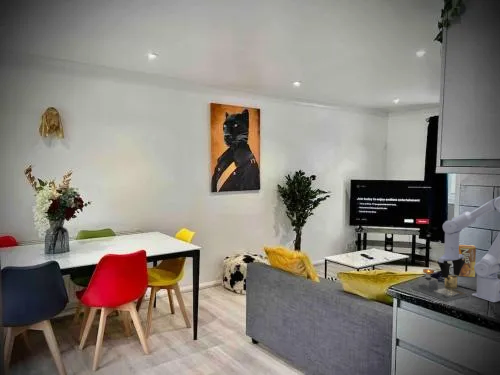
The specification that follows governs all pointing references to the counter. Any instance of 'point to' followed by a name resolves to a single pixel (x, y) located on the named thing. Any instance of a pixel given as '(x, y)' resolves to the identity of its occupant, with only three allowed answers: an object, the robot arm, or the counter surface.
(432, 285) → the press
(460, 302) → the counter surface
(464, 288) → the counter surface
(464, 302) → the counter surface
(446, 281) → the glass candle
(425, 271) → the tealight candle holder
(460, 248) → the candy box
